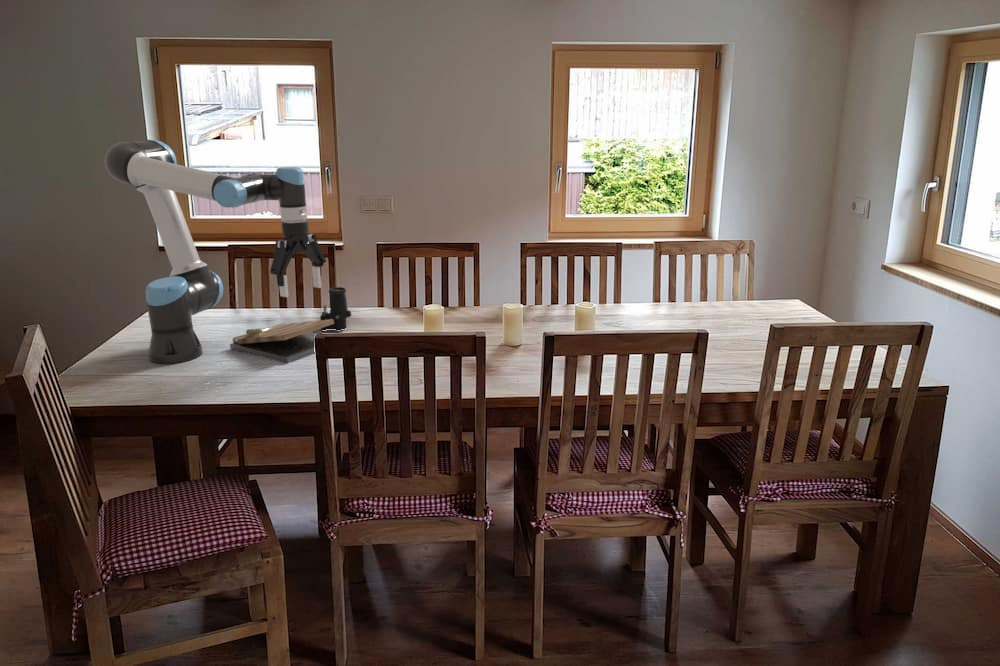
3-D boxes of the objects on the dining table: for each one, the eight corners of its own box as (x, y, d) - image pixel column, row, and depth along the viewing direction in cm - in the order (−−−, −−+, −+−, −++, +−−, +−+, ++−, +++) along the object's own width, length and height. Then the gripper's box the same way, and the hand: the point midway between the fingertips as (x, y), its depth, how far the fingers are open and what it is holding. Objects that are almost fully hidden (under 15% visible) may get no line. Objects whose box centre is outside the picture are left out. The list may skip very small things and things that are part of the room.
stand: (230, 349, 248) (229, 338, 247) (285, 331, 265) (284, 321, 264) (287, 363, 234) (286, 351, 232) (341, 343, 251) (340, 332, 250)
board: (238, 343, 246) (235, 332, 246) (288, 328, 262) (286, 317, 261) (284, 340, 233) (281, 327, 233) (334, 323, 249) (331, 312, 248)
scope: (320, 286, 266) (350, 285, 267) (324, 326, 270) (353, 325, 271) (316, 292, 259) (347, 291, 259) (320, 333, 263) (350, 332, 263)
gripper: (270, 227, 222) (278, 302, 228) (334, 216, 241) (339, 284, 247) (252, 225, 226) (260, 299, 232) (316, 214, 245) (322, 282, 251)
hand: (301, 291), depth 239 cm, fingers open, 12 cm apart
